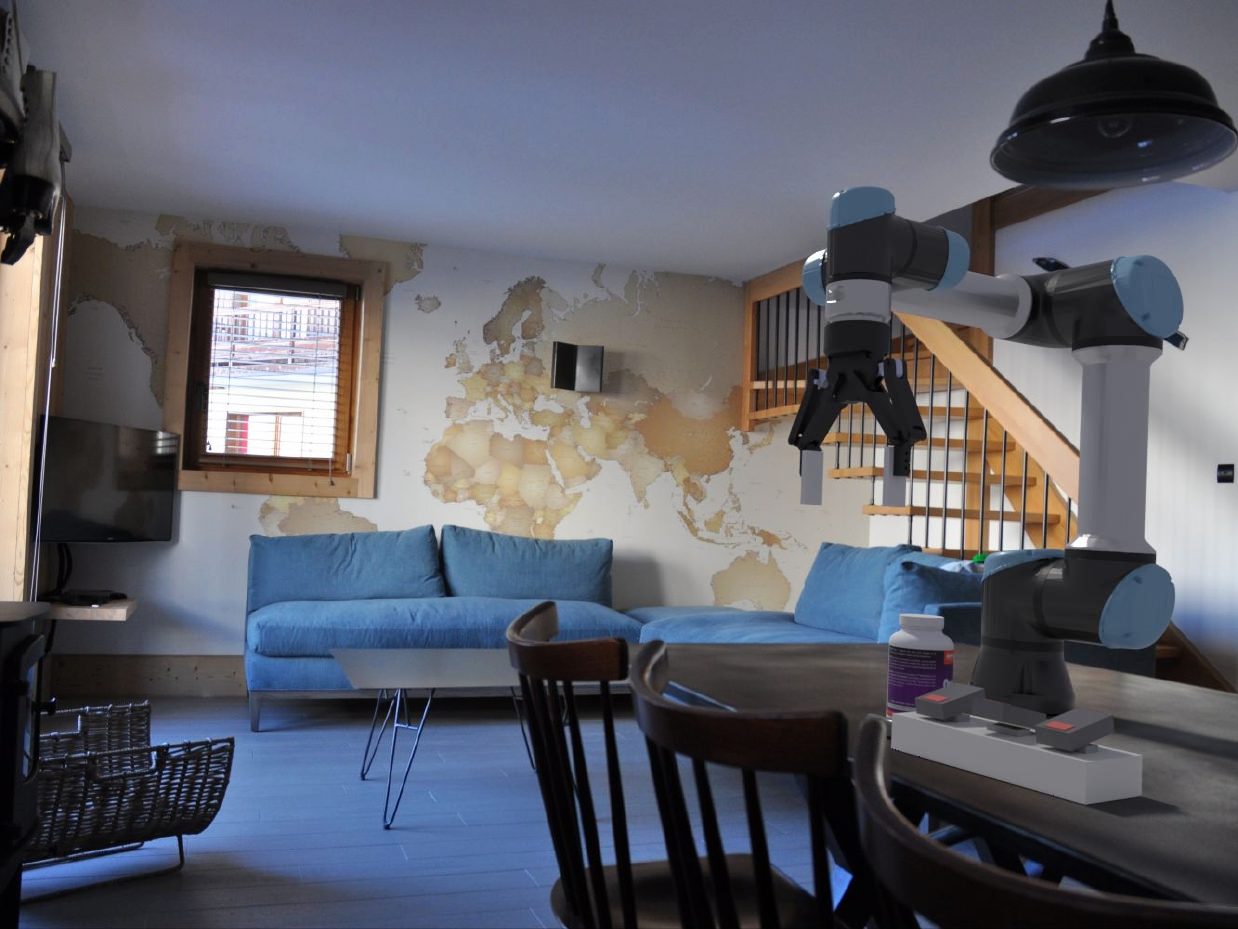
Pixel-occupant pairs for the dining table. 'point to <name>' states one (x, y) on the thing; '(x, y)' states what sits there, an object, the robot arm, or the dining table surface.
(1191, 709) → the dining table surface
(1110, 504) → the robot arm
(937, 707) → the rocker
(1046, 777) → the power strip
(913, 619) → the pill bottle
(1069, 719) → the rocker
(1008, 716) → the rocker
